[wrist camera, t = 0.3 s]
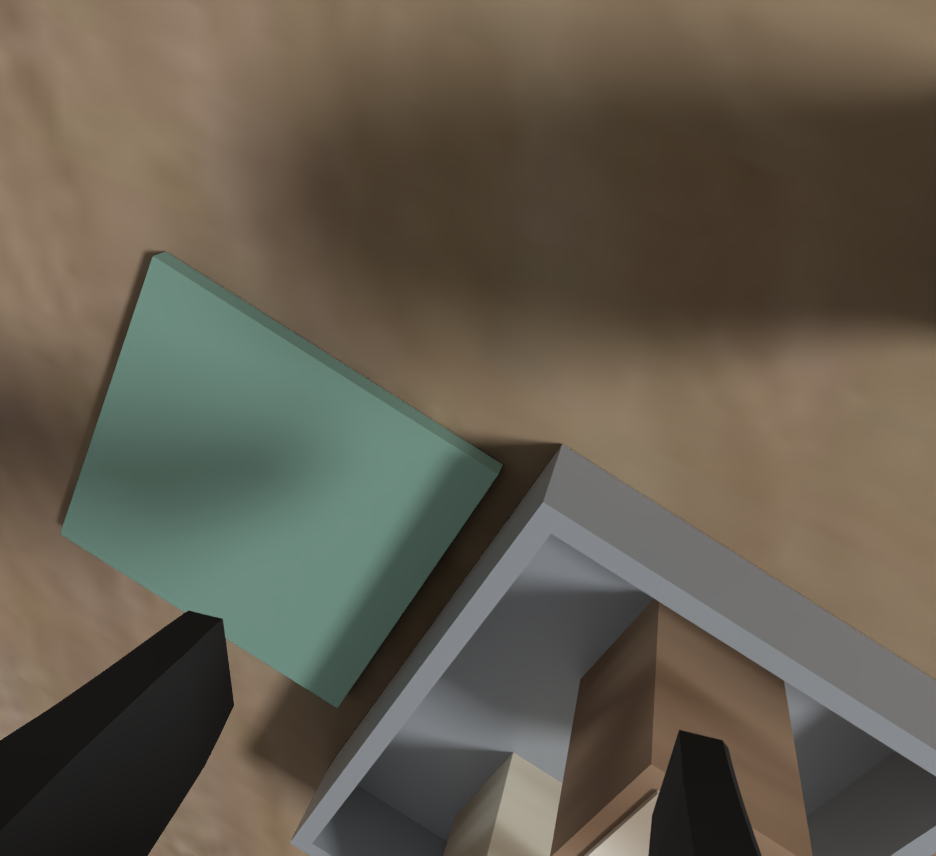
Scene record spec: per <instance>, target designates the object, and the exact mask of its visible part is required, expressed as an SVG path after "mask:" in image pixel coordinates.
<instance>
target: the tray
mask: <svg viewBox="0 0 936 856" xmlns="http://www.w3.org/2000/svg"><path fill="white" fill-rule="evenodd" d="M653 599H656V600H657V601H659V602H660V603H662V604H664V605H665V606H667V607H668V608H670V609H671V610H673V611H675V612H676V613H678V614H679V615H681V616H683V617H684V618H686V619H687V620H689V621H690V622H692V623H694V624H695V625H697V626H698V627H700V628H702V629H703V630H705V631H706V632H708V633H709V634H711V635H713V636H714V637H716V638H717V639H719V640H721V641H722V642H724V643H725V644H727V645H728V646H730V647H732V648H733V649H735V650H736V651H738V652H740V653H741V654H743V655H744V656H746V657H747V658H749V659H751V660H752V661H754V662H755V663H757V664H759V665H760V666H762V667H763V668H765V669H766V670H768V671H770V672H771V673H773V674H774V675H776V676H778V677H779V678H781V679H782V680H784V684H785V690H786V696H787V702H788V709H789V715H790V721H791V727H792V733H793V739H794V745H795V751H796V757H797V763H798V769H799V775H800V781H801V787H802V793H803V799H804V805H805V811H806V817H807V823H808V830H809V836H810V842H811V848H812V854H813V856H931V855H932V854H934V853H935V852H936V680H934V679H933V678H931V677H929V676H928V675H926V674H925V673H923V672H922V671H920V670H918V669H917V668H915V667H914V666H912V665H911V664H909V663H907V662H906V661H904V660H903V659H901V658H899V657H898V656H896V655H895V654H893V653H892V652H890V651H888V650H887V649H885V648H884V647H882V646H881V645H879V644H877V643H876V642H874V641H873V640H871V639H869V638H868V637H866V636H865V635H863V634H862V633H860V632H858V631H857V630H855V629H854V628H852V627H850V626H849V625H847V624H846V623H844V622H843V621H841V620H839V619H838V618H836V617H835V616H833V615H832V614H830V613H828V612H827V611H825V610H824V609H822V608H820V607H819V606H817V605H816V604H814V603H813V602H811V601H809V600H808V599H806V598H805V597H803V596H801V595H800V594H798V593H797V592H795V591H794V590H792V589H790V588H789V587H787V586H786V585H784V584H783V583H781V582H779V581H778V580H776V579H775V578H773V577H771V576H770V575H768V574H767V573H765V572H764V571H762V570H760V569H759V568H757V567H756V566H754V565H753V564H751V563H749V562H748V561H746V560H745V559H743V558H741V557H740V556H738V555H737V554H735V553H734V552H732V551H730V550H729V549H727V548H726V547H724V546H722V545H721V544H719V543H718V542H716V541H715V540H713V539H711V538H710V537H708V536H707V535H705V534H704V533H702V532H700V531H699V530H697V529H696V528H694V527H692V526H691V525H689V524H688V523H686V522H685V521H683V520H681V519H680V518H678V517H677V516H675V515H674V514H672V513H670V512H669V511H667V510H666V509H664V508H662V507H661V506H659V505H658V504H656V503H655V502H653V501H651V500H650V499H648V498H647V497H645V496H643V495H642V494H640V493H639V492H637V491H636V490H634V489H632V488H631V487H629V486H628V485H626V484H625V483H623V482H621V481H620V480H618V479H617V478H615V477H613V476H612V475H610V474H609V473H607V472H606V471H604V470H602V469H601V468H599V467H598V466H596V465H595V464H593V463H591V462H590V461H588V460H587V459H585V458H583V457H582V456H580V455H579V454H577V453H576V452H574V451H572V450H571V449H569V448H568V447H566V446H564V445H563V444H562V445H561V447H560V448H559V449H558V451H557V452H556V453H555V455H554V456H553V458H552V459H551V460H550V462H549V463H548V465H547V466H546V467H545V469H544V470H543V471H542V473H541V474H540V476H539V477H538V478H537V480H536V481H535V482H534V484H533V485H532V487H531V488H530V489H529V491H528V492H527V494H526V495H525V496H524V498H523V499H522V500H521V502H520V503H519V505H518V506H517V507H516V509H515V510H514V512H513V513H512V514H511V516H510V517H509V518H508V520H507V521H506V523H505V524H504V525H503V527H502V528H501V529H500V531H499V532H498V534H497V535H496V536H495V538H494V539H493V541H492V542H491V543H490V545H489V546H488V547H487V549H486V550H485V552H484V553H483V554H482V556H481V557H480V558H479V560H478V561H477V563H476V564H475V565H474V567H473V568H472V570H471V571H470V572H469V574H468V575H467V576H466V578H465V579H464V581H463V582H462V583H461V585H460V586H459V587H458V589H457V590H456V592H455V593H454V594H453V596H452V597H451V599H450V600H449V601H448V603H447V604H446V605H445V607H444V608H443V610H442V611H441V612H440V614H439V615H438V617H437V618H436V619H435V621H434V622H433V623H432V625H431V626H430V628H429V629H428V630H427V632H426V633H425V634H424V636H423V637H422V639H421V640H420V641H419V643H418V644H417V646H416V647H415V648H414V650H413V651H412V652H411V654H410V655H409V657H408V658H407V659H406V661H405V662H404V663H403V665H402V666H401V668H400V669H399V670H398V672H397V673H396V675H395V676H394V677H393V679H392V680H391V681H390V683H389V684H388V686H387V687H386V688H385V690H384V691H383V692H382V694H381V695H380V697H379V698H378V699H377V701H376V702H375V704H374V705H373V706H372V708H371V709H370V710H369V712H368V713H367V715H366V716H365V717H364V719H363V720H362V722H361V723H360V724H359V726H358V727H357V728H356V730H355V731H354V733H353V734H352V735H351V737H350V738H349V739H348V741H347V742H346V744H345V745H344V746H343V748H342V749H341V751H340V752H339V753H338V755H337V756H336V757H335V759H334V760H333V762H332V763H331V764H330V766H329V767H328V769H327V771H326V773H325V775H324V777H323V779H322V781H321V783H320V785H319V787H318V789H317V791H316V793H315V795H314V797H313V799H312V800H311V802H310V804H309V806H308V808H307V810H306V812H305V814H304V816H303V818H302V820H301V822H300V824H299V826H298V828H297V830H296V832H295V833H294V835H293V837H292V839H291V841H290V843H291V844H292V845H294V846H296V847H297V848H299V849H300V850H302V851H303V852H305V853H307V854H308V855H310V856H443V854H444V851H445V847H446V844H447V841H448V838H449V834H450V831H451V828H452V825H453V822H454V818H455V815H456V814H457V813H458V812H459V811H460V810H461V809H462V808H463V807H464V805H465V804H466V803H467V802H468V801H469V800H470V799H471V798H472V797H473V796H474V795H475V793H476V792H477V791H478V790H479V789H480V788H481V787H482V786H483V785H484V784H485V783H486V781H487V780H488V779H489V778H490V777H491V776H492V775H493V774H494V773H495V772H496V771H497V769H498V768H499V767H500V766H501V765H502V764H503V763H504V762H505V761H506V760H507V759H508V757H509V756H510V755H511V754H512V753H515V754H517V755H518V756H520V757H521V758H523V759H525V760H526V761H528V762H529V763H531V764H532V765H534V766H536V767H537V768H539V769H540V770H542V771H544V772H545V773H547V774H548V775H550V776H552V777H553V778H555V779H556V780H558V781H559V782H561V783H563V777H564V771H565V765H566V760H567V754H568V748H569V742H570V736H571V731H572V725H573V719H574V713H575V707H576V702H577V696H578V690H579V684H580V679H581V678H582V677H583V676H584V675H585V673H586V672H587V671H588V670H589V669H590V668H591V667H592V666H593V665H594V664H595V663H596V662H597V660H598V659H599V658H600V657H601V656H602V655H603V654H604V653H605V652H606V651H607V650H608V648H609V647H610V646H611V645H612V644H613V643H614V642H615V641H616V640H617V639H618V638H619V636H620V635H621V634H622V633H623V632H624V631H625V630H626V629H627V628H628V627H629V626H630V624H631V623H632V622H633V621H634V620H635V619H636V618H637V617H638V616H639V615H640V614H641V612H642V611H643V610H644V609H645V608H646V607H647V606H648V605H649V604H650V603H651V602H652V600H653Z"/></svg>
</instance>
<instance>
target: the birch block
mask: <svg viewBox="0 0 936 856" xmlns="http://www.w3.org/2000/svg"><path fill="white" fill-rule="evenodd" d="M561 789H562V783H561V782H559V781H558V780H556V779H555V778H553V777H552V776H550V775H548V774H547V773H545V772H544V771H542V770H540V769H539V768H537V767H536V766H534V765H532V764H531V763H529V762H528V761H526V760H525V759H523V758H521V757H520V756H518V755H517V754H515V753H512V754H511V755H510V756H509V757H508V759H507V760H506V761H505V762H504V763H503V764H502V765H501V766H500V767H499V768H498V769H497V771H496V772H495V773H494V774H493V775H492V776H491V777H490V778H489V779H488V780H487V781H486V783H485V784H484V785H483V786H482V787H481V788H480V789H479V790H478V791H477V792H476V793H475V795H474V796H473V797H472V798H471V799H470V800H469V801H468V802H467V803H466V804H465V805H464V807H463V808H462V809H461V810H460V811H459V812H458V813H457V814H456V815H455V818H454V822H453V825H452V828H451V831H450V834H449V838H448V841H447V844H446V847H445V851H444V854H443V856H550V853H551V847H552V841H553V835H554V829H555V823H556V818H557V812H558V806H559V800H560V794H561Z"/></svg>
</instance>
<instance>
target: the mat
mask: <svg viewBox="0 0 936 856" xmlns="http://www.w3.org/2000/svg"><path fill="white" fill-rule="evenodd" d="M502 466H503V464H501V463H500V462H498V461H496V460H495V459H493V458H492V457H490V456H489V455H487V454H485V453H484V452H482V451H481V450H479V449H477V448H476V447H474V446H473V445H471V444H470V443H468V442H466V441H465V440H463V439H462V438H460V437H458V436H457V435H455V434H454V433H452V432H451V431H449V430H447V429H446V428H444V427H443V426H441V425H439V424H438V423H436V422H435V421H433V420H432V419H430V418H428V417H427V416H425V415H424V414H422V413H421V412H419V411H417V410H416V409H414V408H413V407H411V406H409V405H408V404H406V403H405V402H403V401H402V400H400V399H398V398H397V397H395V396H394V395H392V394H390V393H389V392H387V391H386V390H384V389H383V388H381V387H379V386H378V385H376V384H375V383H373V382H371V381H370V380H368V379H367V378H365V377H364V376H362V375H360V374H359V373H357V372H356V371H354V370H353V369H351V368H349V367H348V366H346V365H345V364H343V363H341V362H340V361H338V360H337V359H335V358H334V357H332V356H330V355H329V354H327V353H326V352H324V351H322V350H321V349H319V348H318V347H316V346H315V345H313V344H311V343H310V342H308V341H307V340H305V339H303V338H302V337H300V336H299V335H297V334H296V333H294V332H292V331H291V330H289V329H288V328H286V327H285V326H283V325H281V324H280V323H278V322H277V321H275V320H273V319H272V318H270V317H269V316H267V315H266V314H264V313H262V312H261V311H259V310H258V309H256V308H254V307H253V306H251V305H250V304H248V303H247V302H245V301H243V300H242V299H240V298H239V297H237V296H235V295H234V294H232V293H231V292H229V291H228V290H226V289H224V288H223V287H221V286H220V285H218V284H216V283H215V282H213V281H212V280H210V279H209V278H207V277H205V276H204V275H202V274H201V273H199V272H198V271H196V270H194V269H193V268H191V267H190V266H188V265H186V264H185V263H183V262H182V261H180V260H179V259H177V258H175V257H174V256H172V255H171V254H169V253H167V252H163V253H160V254H157V255H154V256H153V257H152V260H151V263H150V266H149V269H148V272H147V275H146V278H145V281H144V284H143V287H142V290H141V293H140V296H139V299H138V302H137V305H136V308H135V311H134V314H133V317H132V320H131V323H130V326H129V329H128V332H127V335H126V338H125V341H124V344H123V347H122V350H121V353H120V356H119V359H118V362H117V365H116V368H115V371H114V374H113V377H112V380H111V383H110V386H109V389H108V392H107V395H106V398H105V401H104V404H103V407H102V410H101V413H100V416H99V419H98V422H97V425H96V428H95V431H94V434H93V437H92V440H91V443H90V446H89V449H88V452H87V455H86V458H85V461H84V464H83V467H82V470H81V473H80V476H79V479H78V482H77V485H76V488H75V491H74V494H73V497H72V500H71V503H70V506H69V509H68V512H67V515H66V518H65V521H64V524H63V527H62V530H61V533H60V534H61V535H62V536H64V537H65V538H67V539H69V540H70V541H72V542H73V543H75V544H77V545H78V546H80V547H81V548H83V549H85V550H86V551H88V552H89V553H91V554H93V555H94V556H96V557H97V558H99V559H100V560H102V561H104V562H105V563H107V564H108V565H110V566H112V567H113V568H115V569H116V570H118V571H120V572H121V573H123V574H124V575H126V576H128V577H129V578H131V579H132V580H134V581H135V582H137V583H139V584H140V585H142V586H143V587H145V588H147V589H148V590H150V591H151V592H153V593H155V594H156V595H158V596H159V597H161V598H162V599H164V600H166V601H167V602H169V603H170V604H172V605H174V606H175V607H177V608H178V609H180V610H182V611H183V612H185V613H186V612H187V611H193V612H197V613H201V614H205V615H209V616H213V617H218V618H222V619H223V623H224V631H225V638H226V639H228V640H229V641H231V642H232V643H234V644H236V645H237V646H239V647H240V648H242V649H244V650H245V651H247V652H248V653H250V654H252V655H253V656H255V657H256V658H258V659H260V660H261V661H263V662H264V663H266V664H267V665H269V666H271V667H272V668H274V669H275V670H277V671H279V672H280V673H282V674H283V675H285V676H287V677H288V678H290V679H291V680H293V681H294V682H296V683H298V684H299V685H301V686H302V687H304V688H306V689H307V690H309V691H310V692H312V693H314V694H315V695H317V696H318V697H320V698H322V699H323V700H325V701H326V702H328V703H329V704H331V705H333V706H334V707H336V708H338V707H339V705H340V704H341V702H342V701H343V699H344V698H345V697H346V695H347V694H348V692H349V691H350V689H351V688H352V686H353V685H354V683H355V682H356V681H357V679H358V678H359V676H360V675H361V673H362V672H363V670H364V669H365V667H366V666H367V665H368V663H369V662H370V660H371V659H372V657H373V656H374V654H375V653H376V652H377V650H378V649H379V647H380V646H381V644H382V643H383V641H384V640H385V638H386V637H387V636H388V634H389V633H390V631H391V630H392V628H393V627H394V625H395V624H396V622H397V621H398V620H399V618H400V617H401V615H402V614H403V612H404V611H405V609H406V608H407V606H408V605H409V604H410V602H411V601H412V599H413V598H414V596H415V595H416V593H417V592H418V590H419V589H420V588H421V586H422V585H423V583H424V582H425V580H426V579H427V577H428V576H429V574H430V573H431V572H432V570H433V569H434V567H435V566H436V564H437V563H438V561H439V560H440V559H441V557H442V556H443V554H444V553H445V551H446V550H447V548H448V547H449V545H450V544H451V543H452V541H453V540H454V538H455V537H456V535H457V534H458V532H459V531H460V529H461V528H462V527H463V525H464V524H465V522H466V521H467V519H468V518H469V516H470V515H471V513H472V512H473V511H474V509H475V508H476V506H477V505H478V503H479V502H480V500H481V499H482V497H483V496H484V495H485V493H486V492H487V490H488V489H489V487H490V486H491V484H492V483H493V481H494V480H495V479H496V477H497V476H498V474H499V472H500V470H501V468H502Z"/></svg>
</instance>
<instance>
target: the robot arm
mask: <svg viewBox="0 0 936 856" xmlns="http://www.w3.org/2000/svg"><path fill="white" fill-rule="evenodd" d="M233 706H234V701H233V694H232V686H231V678H230V670H229V662H228V655H227V647H226V639H225V631H224V623H223V619H222V618H218V617H213V616H209V615H205V614H201V613H197V612H193V611H187V612H186V613H184V614H183V615H181V616H180V617H178V618H177V619H176V620H174V621H173V622H171V623H170V624H168V625H167V626H166V627H164V628H163V629H161V630H160V631H159V632H157V633H156V634H155V635H153V636H152V637H150V638H149V639H148V640H146V641H145V642H144V643H142V644H141V645H139V646H138V647H137V648H135V649H134V650H133V651H131V652H130V653H128V654H127V655H126V656H124V657H123V658H121V659H120V660H119V661H117V662H116V663H115V664H113V665H112V666H110V667H109V668H108V669H106V670H105V671H103V672H102V673H101V674H99V675H98V676H96V677H95V678H93V679H92V680H90V681H89V682H88V683H86V684H85V685H83V686H82V687H80V688H79V689H78V690H76V691H75V692H73V693H72V694H70V695H69V696H67V697H66V698H65V699H63V700H62V701H60V702H59V703H57V704H56V705H54V706H53V707H51V708H50V709H48V710H47V711H45V712H44V713H42V714H41V715H39V716H38V717H36V718H35V719H33V720H31V721H30V722H28V723H27V724H25V725H24V726H22V727H21V728H19V729H17V730H16V731H14V732H13V733H11V734H10V735H8V736H7V737H5V738H3V739H2V740H0V856H148V854H149V853H150V851H151V849H152V848H153V846H154V845H155V843H156V842H157V840H158V839H159V837H160V835H161V834H162V832H163V831H164V829H165V828H166V826H167V825H168V823H169V821H170V820H171V818H172V817H173V815H174V814H175V812H176V811H177V809H178V807H179V806H180V804H181V803H182V801H183V799H184V798H185V796H186V795H187V793H188V792H189V790H190V788H191V787H192V785H193V784H194V782H195V780H196V779H197V777H198V776H199V774H200V772H201V771H202V769H203V768H204V766H205V764H206V762H207V760H208V758H209V756H210V754H211V752H212V750H213V748H214V746H215V744H216V742H217V740H218V738H219V736H220V734H221V732H222V730H223V727H224V725H225V723H226V721H227V719H228V717H229V715H230V713H231V710H232V708H233ZM648 856H762V855H761V852H760V849H759V847H758V844H757V841H756V838H755V835H754V832H753V829H752V826H751V823H750V820H749V817H748V814H747V811H746V808H745V805H744V802H743V799H742V796H741V792H740V789H739V786H738V782H737V779H736V775H735V772H734V768H733V764H732V761H731V757H730V753H729V748H728V747H727V745H726V744H725V743H724V741H723V740H720V739H715V738H711V737H707V736H703V735H699V734H695V733H691V732H687V731H683V730H679V732H678V735H677V738H676V741H675V744H674V748H673V751H672V754H671V757H670V760H669V763H668V766H667V770H666V773H665V776H664V779H663V782H662V785H661V789H660V792H659V795H658V798H657V801H656V804H655V807H654V811H653V814H652V821H651V832H650V844H649V855H648Z"/></svg>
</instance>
